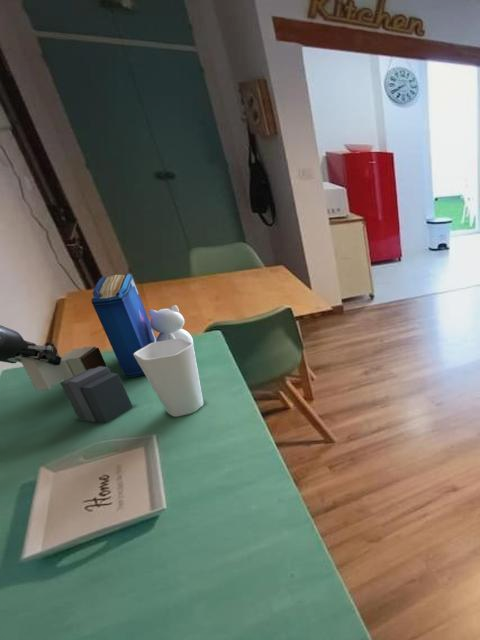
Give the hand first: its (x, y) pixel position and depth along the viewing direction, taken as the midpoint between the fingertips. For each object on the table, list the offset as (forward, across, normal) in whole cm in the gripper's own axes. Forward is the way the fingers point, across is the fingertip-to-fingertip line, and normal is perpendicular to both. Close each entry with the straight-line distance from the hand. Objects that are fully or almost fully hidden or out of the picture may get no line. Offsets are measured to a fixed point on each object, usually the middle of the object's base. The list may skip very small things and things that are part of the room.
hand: (50, 362), depth 103 cm
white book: (+2, 0, +5) cm, 5 cm away
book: (+20, -8, -5) cm, 22 cm away
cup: (0, -30, +15) cm, 34 cm away
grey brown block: (+13, 0, +2) cm, 13 cm away
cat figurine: (+24, -16, -8) cm, 29 cm away
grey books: (+1, -13, +14) cm, 19 cm away
